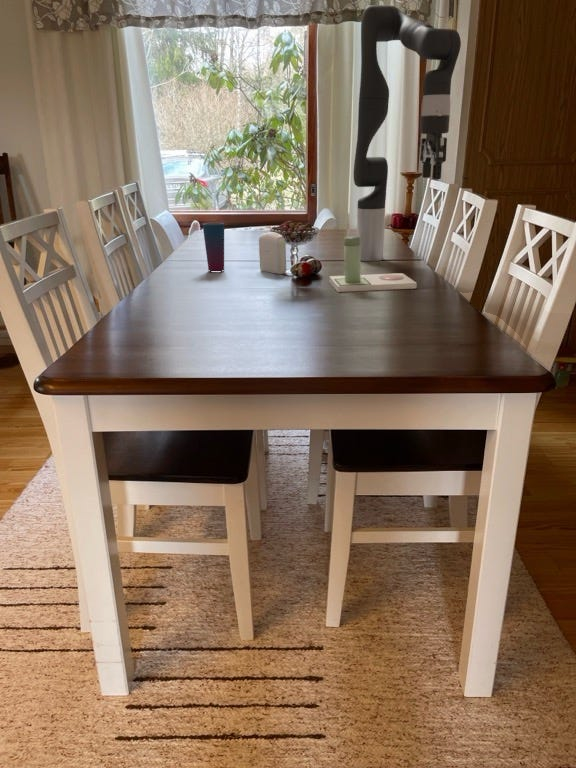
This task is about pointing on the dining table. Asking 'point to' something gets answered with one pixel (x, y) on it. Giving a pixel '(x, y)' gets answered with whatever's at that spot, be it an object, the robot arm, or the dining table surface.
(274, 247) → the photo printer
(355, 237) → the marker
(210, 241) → the cup
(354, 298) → the dining table surface
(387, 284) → the picture board
